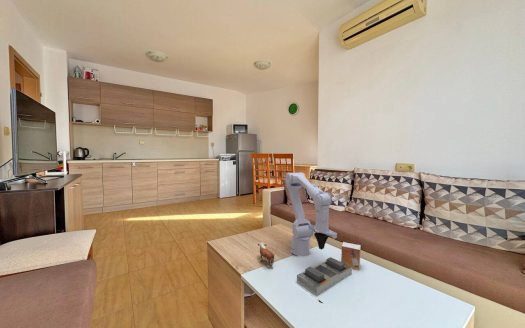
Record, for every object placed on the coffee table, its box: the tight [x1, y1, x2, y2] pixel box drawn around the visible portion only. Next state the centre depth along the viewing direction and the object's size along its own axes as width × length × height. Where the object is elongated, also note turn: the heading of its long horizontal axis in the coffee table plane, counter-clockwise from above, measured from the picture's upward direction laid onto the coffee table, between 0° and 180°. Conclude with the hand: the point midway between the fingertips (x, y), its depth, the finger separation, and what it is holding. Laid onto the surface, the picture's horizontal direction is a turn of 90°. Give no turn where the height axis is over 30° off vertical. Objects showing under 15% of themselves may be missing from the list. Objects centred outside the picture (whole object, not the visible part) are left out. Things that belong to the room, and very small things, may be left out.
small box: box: [340, 241, 362, 271], centre depth 99 cm, size 8×6×10 cm
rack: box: [296, 257, 353, 297], centre depth 89 cm, size 10×24×4 cm, turn 127°
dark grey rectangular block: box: [325, 257, 344, 272], centre depth 93 cm, size 7×3×5 cm, turn 37°
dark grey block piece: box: [304, 266, 324, 284], centre depth 85 cm, size 7×3×5 cm, turn 37°
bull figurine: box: [257, 242, 275, 269], centre depth 102 cm, size 4×13×8 cm, turn 25°
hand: (321, 248), depth 96 cm, fingers closed
